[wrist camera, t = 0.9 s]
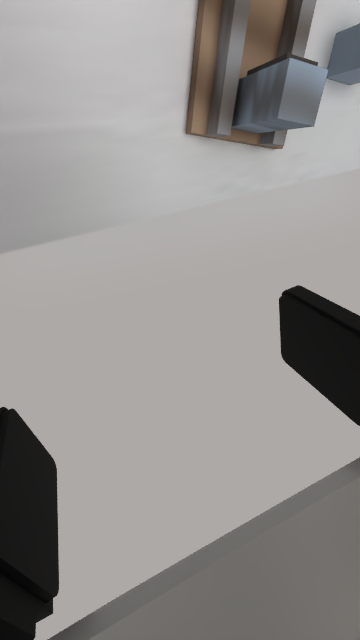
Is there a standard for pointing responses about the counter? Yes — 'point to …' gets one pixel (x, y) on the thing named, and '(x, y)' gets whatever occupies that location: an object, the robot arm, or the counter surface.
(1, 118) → the counter surface
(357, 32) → the blue-grey block
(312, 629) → the robot arm
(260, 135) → the rail
